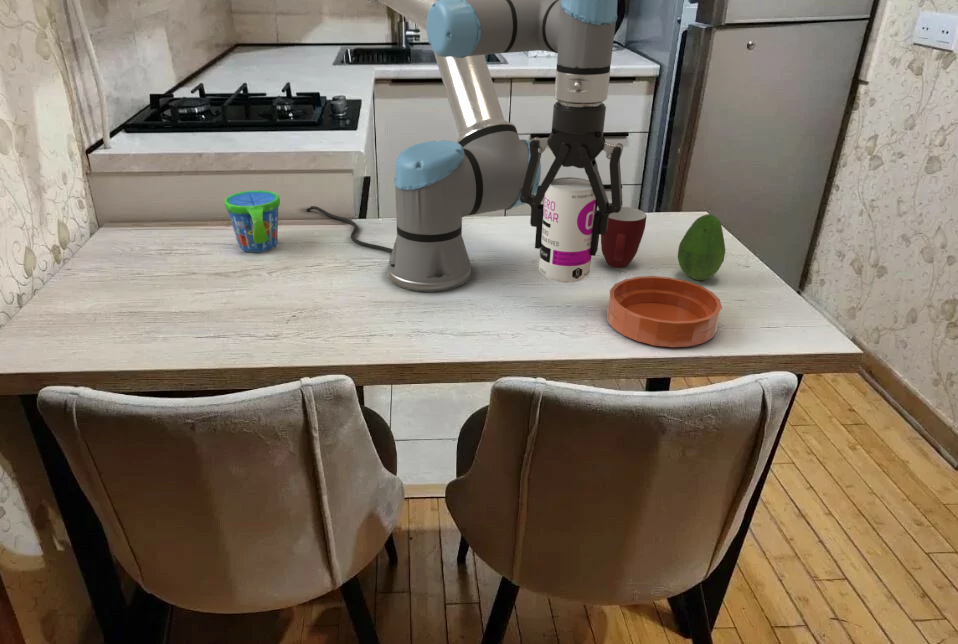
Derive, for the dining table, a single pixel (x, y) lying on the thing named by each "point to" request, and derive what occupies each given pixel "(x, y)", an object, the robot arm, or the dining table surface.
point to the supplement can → (567, 230)
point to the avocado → (702, 248)
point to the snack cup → (254, 219)
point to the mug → (623, 236)
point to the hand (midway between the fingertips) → (566, 248)
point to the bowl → (663, 311)
